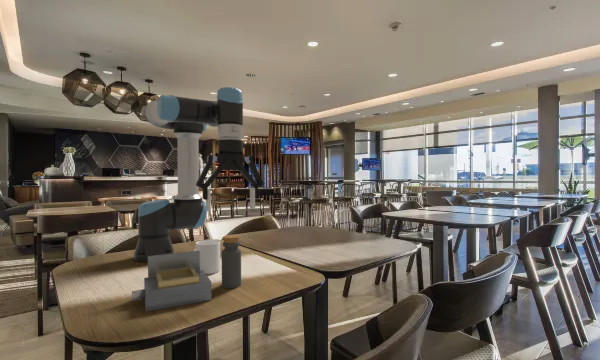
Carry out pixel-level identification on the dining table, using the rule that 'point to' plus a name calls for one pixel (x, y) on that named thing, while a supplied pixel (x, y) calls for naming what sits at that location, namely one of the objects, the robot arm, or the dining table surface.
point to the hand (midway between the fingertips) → (231, 209)
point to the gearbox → (174, 281)
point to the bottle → (231, 262)
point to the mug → (209, 255)
